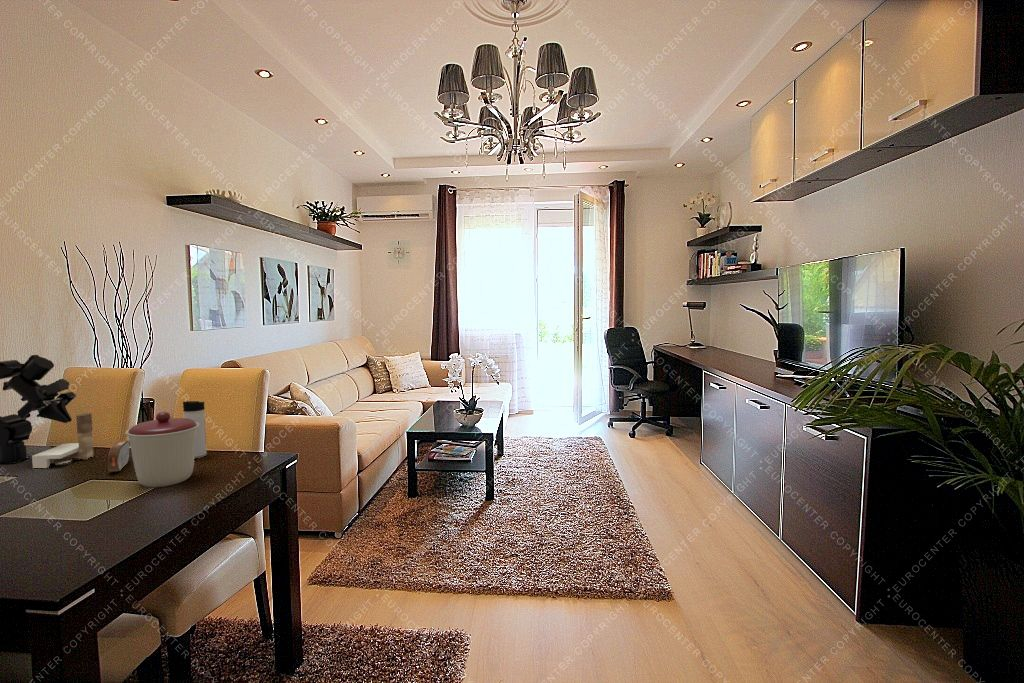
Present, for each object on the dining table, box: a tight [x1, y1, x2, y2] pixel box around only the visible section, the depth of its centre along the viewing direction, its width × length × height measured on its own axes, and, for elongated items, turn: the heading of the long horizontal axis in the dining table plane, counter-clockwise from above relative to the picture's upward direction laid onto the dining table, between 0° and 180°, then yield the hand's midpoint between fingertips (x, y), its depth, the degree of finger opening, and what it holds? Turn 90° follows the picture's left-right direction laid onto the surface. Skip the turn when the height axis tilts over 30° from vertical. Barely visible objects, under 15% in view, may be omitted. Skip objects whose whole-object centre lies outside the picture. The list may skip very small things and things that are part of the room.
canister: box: [124, 411, 200, 488], centre depth 150 cm, size 18×18×21 cm
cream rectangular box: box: [31, 442, 79, 469], centre depth 168 cm, size 8×14×4 cm, turn 8°
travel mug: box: [182, 400, 208, 458], centre depth 173 cm, size 6×7×20 cm
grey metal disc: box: [53, 458, 73, 464], centre depth 166 cm, size 4×4×1 cm
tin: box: [107, 439, 131, 473], centre depth 162 cm, size 15×3×8 cm, turn 25°
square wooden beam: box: [49, 413, 94, 465], centre depth 167 cm, size 9×9×15 cm
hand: (69, 421), depth 169 cm, fingers closed
